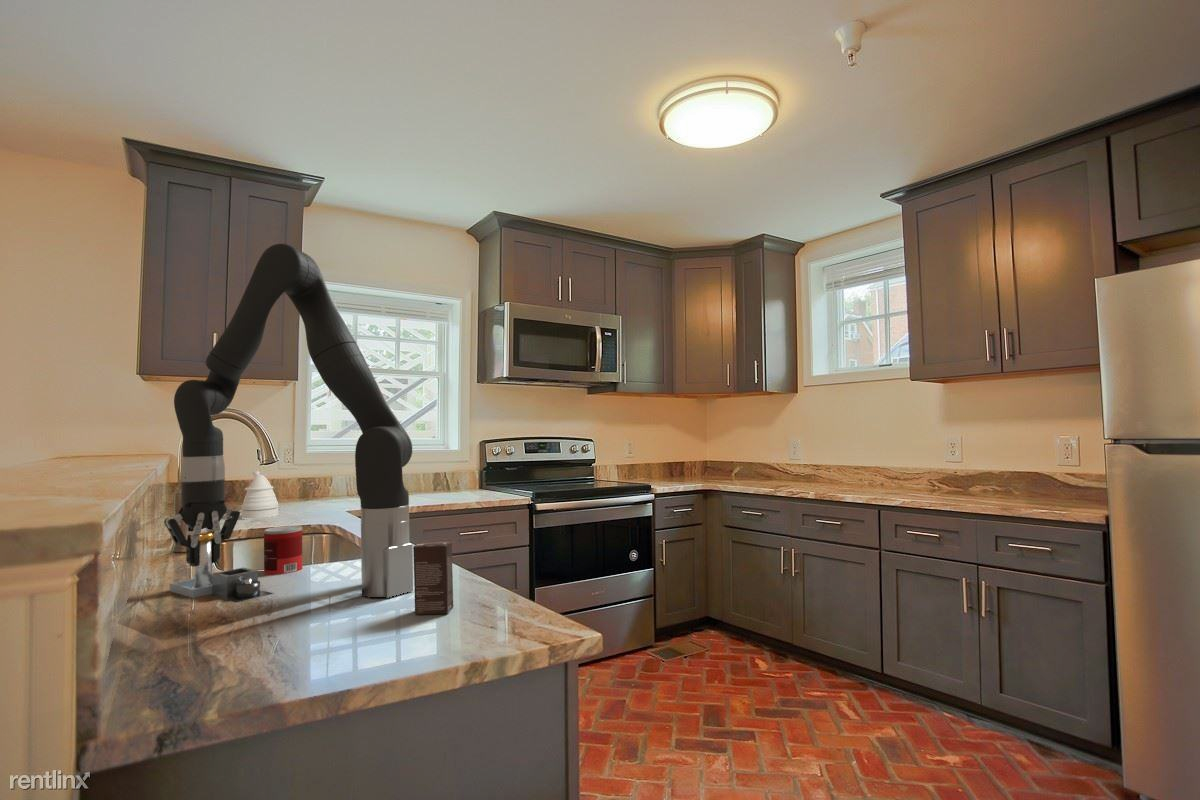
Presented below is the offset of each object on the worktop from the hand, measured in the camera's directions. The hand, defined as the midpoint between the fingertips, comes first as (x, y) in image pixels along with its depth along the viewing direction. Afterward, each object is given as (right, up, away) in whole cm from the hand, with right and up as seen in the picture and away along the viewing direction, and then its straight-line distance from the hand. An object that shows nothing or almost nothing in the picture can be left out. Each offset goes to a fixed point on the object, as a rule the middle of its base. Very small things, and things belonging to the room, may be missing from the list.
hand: (203, 563), depth 126 cm
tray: (0, -7, 0) cm, 7 cm away
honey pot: (-54, -13, +120) cm, 132 cm away
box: (+51, -5, -15) cm, 53 cm away
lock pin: (0, -5, 0) cm, 5 cm away
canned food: (+9, -7, +15) cm, 19 cm away
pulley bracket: (+10, -6, -5) cm, 13 cm away
